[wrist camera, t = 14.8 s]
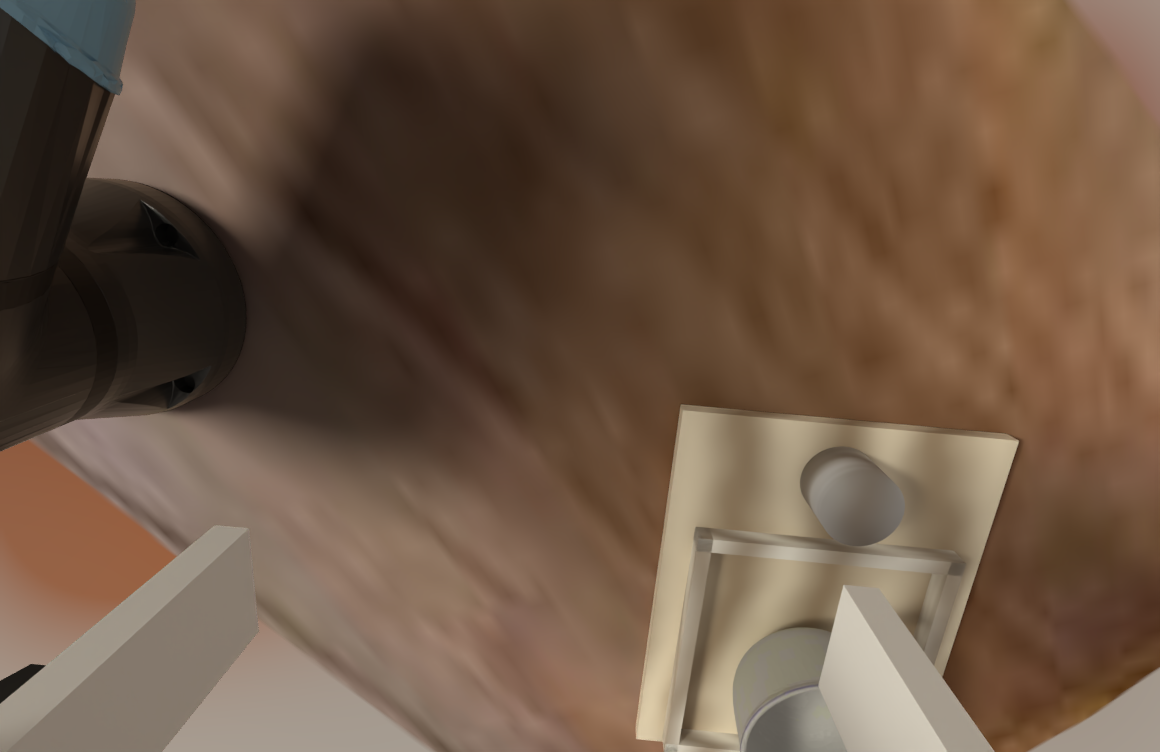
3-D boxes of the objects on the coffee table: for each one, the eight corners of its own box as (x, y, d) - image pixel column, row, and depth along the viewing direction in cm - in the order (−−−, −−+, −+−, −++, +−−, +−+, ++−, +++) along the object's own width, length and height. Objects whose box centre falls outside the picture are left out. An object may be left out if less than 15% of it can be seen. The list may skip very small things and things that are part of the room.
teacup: (781, 742, 46) (817, 851, 38) (689, 660, 44) (706, 757, 37) (930, 643, 43) (1001, 739, 35) (837, 550, 41) (891, 630, 33)
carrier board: (635, 725, 48) (639, 787, 43) (680, 404, 40) (691, 433, 35) (905, 752, 47) (941, 817, 42) (1007, 433, 39) (1065, 467, 34)
